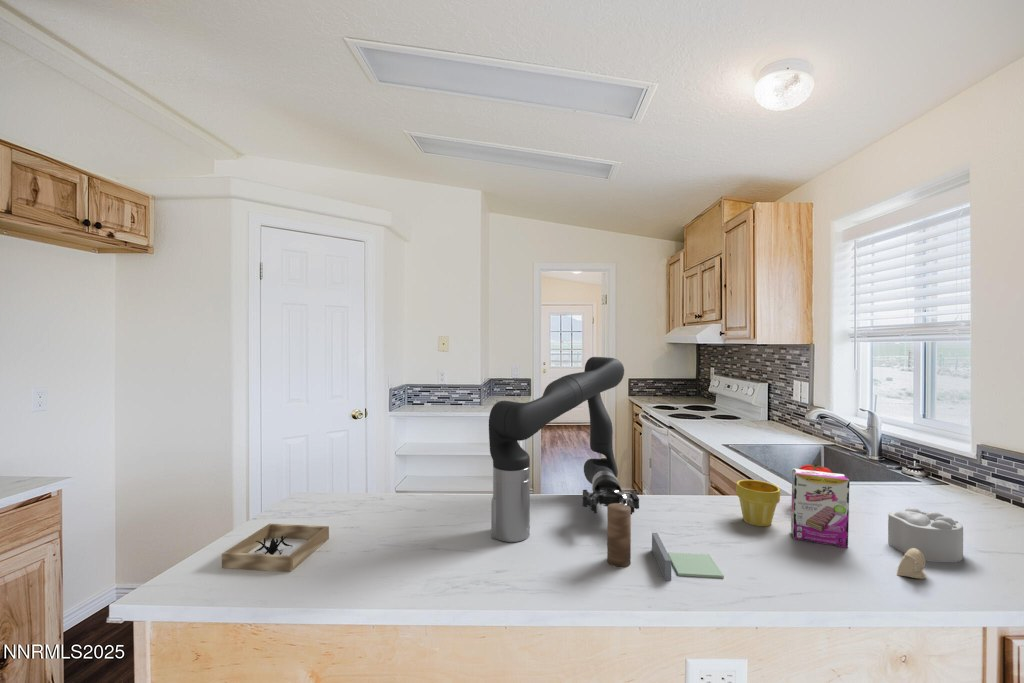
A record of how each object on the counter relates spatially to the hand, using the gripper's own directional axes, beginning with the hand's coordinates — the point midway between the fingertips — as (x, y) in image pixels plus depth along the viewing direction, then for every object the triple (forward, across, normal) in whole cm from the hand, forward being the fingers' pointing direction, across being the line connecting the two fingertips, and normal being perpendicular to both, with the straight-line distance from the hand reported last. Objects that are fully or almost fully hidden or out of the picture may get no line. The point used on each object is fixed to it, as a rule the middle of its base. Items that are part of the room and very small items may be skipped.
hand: (613, 509), depth 109 cm
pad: (+11, +16, +7) cm, 21 cm away
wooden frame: (+15, -77, +7) cm, 79 cm away
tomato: (-25, +60, +8) cm, 65 cm away
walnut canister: (+11, 0, +7) cm, 13 cm away
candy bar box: (-5, +50, +8) cm, 51 cm away
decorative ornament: (+10, +60, +8) cm, 61 cm away
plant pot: (-15, +40, +8) cm, 43 cm away
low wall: (+11, +9, +7) cm, 16 cm away
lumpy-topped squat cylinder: (-2, +72, +8) cm, 72 cm away
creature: (+15, -78, +7) cm, 80 cm away
